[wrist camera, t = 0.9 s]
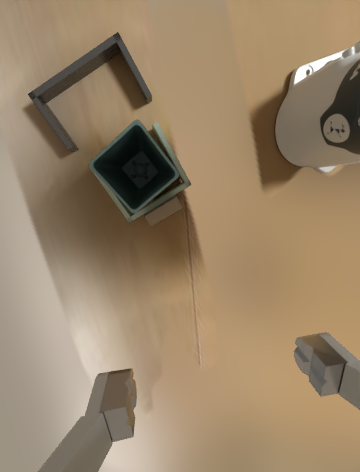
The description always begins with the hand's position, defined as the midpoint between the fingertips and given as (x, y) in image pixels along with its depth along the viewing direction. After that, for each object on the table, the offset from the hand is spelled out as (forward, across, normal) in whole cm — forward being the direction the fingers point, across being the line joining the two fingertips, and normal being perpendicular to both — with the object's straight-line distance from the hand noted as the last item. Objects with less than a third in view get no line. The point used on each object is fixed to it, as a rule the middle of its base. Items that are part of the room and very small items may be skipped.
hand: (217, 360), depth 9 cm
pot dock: (+30, +10, -21) cm, 38 cm away
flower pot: (+30, +4, -10) cm, 32 cm away
